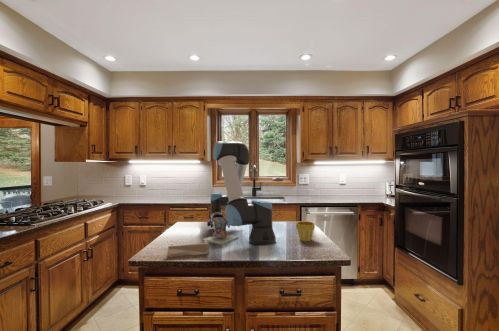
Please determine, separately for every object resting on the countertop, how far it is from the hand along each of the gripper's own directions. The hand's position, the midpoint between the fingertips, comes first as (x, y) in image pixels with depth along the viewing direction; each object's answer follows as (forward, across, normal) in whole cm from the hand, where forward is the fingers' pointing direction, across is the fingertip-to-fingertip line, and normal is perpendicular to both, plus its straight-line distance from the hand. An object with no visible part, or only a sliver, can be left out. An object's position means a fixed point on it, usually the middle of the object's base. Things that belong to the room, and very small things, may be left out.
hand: (221, 226), depth 157 cm
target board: (-5, 0, -9) cm, 10 cm away
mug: (-5, +1, -7) cm, 9 cm away
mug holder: (+9, +18, -9) cm, 23 cm away
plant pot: (+9, -47, -9) cm, 49 cm away
